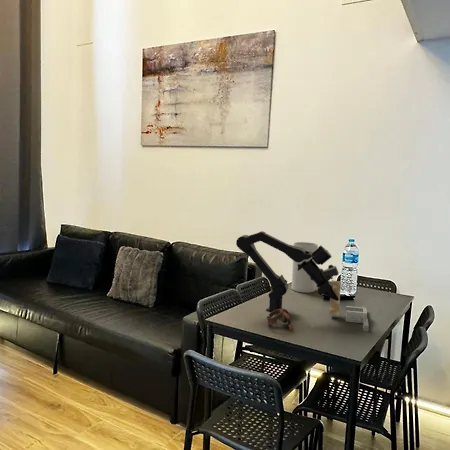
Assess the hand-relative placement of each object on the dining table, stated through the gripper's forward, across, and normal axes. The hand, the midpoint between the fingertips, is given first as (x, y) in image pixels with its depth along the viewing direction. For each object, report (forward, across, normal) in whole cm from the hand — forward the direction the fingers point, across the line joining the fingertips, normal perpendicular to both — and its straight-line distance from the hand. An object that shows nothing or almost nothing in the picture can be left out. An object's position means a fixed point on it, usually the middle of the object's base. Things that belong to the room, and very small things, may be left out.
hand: (338, 299), depth 190 cm
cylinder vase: (-7, +42, +19) cm, 46 cm away
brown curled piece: (-9, -20, +22) cm, 31 cm away
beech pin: (+4, 0, +6) cm, 7 cm away
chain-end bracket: (+11, 0, +1) cm, 11 cm away
